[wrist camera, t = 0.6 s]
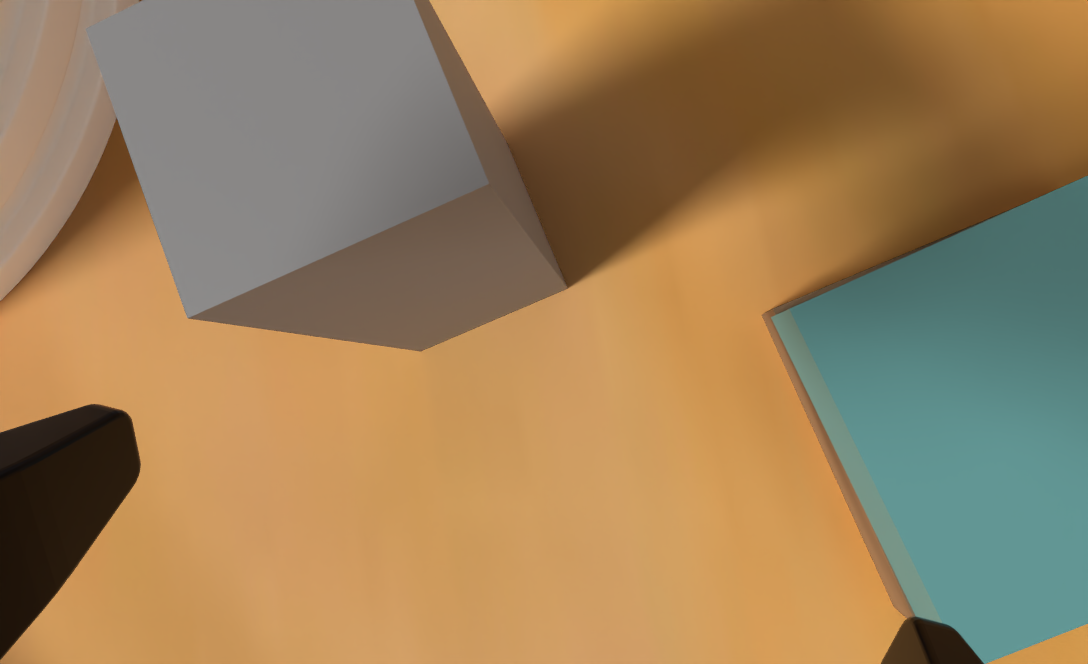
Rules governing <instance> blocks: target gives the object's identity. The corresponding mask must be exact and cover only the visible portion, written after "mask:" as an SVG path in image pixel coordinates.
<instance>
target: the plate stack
mask: <svg viewBox="0 0 1088 664" xmlns="http://www.w3.org/2000/svg"><path fill="white" fill-rule="evenodd" d="M138 2H139V0H0V301H1V300H2V299H3V298H4V297H5V296H6V295H7V294H8V293H9V292H10V291H11V290H12V289H13V288H14V287H15V286H16V285H17V284H18V283H19V282H20V281H21V279H22V278H23V277H24V276H25V275H26V274H27V273H28V272H29V270H30V269H31V268H32V267H33V266H34V265H35V263H36V262H37V261H38V260H39V258H40V257H41V256H42V255H43V254H44V252H45V251H46V250H47V248H48V247H49V245H50V244H51V243H52V241H53V240H54V239H55V237H56V236H57V235H58V233H59V232H60V230H61V229H62V227H63V226H64V224H65V223H66V221H67V220H68V218H69V216H70V215H71V213H72V212H73V210H74V208H75V207H76V205H77V203H78V202H79V200H80V198H81V196H82V194H83V193H84V191H85V189H86V187H87V185H88V183H89V181H90V179H91V177H92V175H93V173H94V171H95V169H96V167H97V165H98V163H99V161H100V158H101V156H102V154H103V152H104V149H105V147H106V145H107V142H108V139H109V137H110V134H111V132H112V129H113V126H114V123H115V120H116V118H117V117H116V114H115V111H114V108H113V106H112V103H111V100H110V97H109V94H108V91H107V89H106V86H105V83H104V80H103V77H102V74H101V72H100V69H99V66H98V63H97V60H96V57H95V55H94V52H93V49H92V46H91V43H90V40H89V38H88V35H87V32H86V28H88V27H90V26H92V25H94V24H96V23H98V22H100V21H102V20H104V19H106V18H108V17H110V16H112V15H114V14H116V13H118V12H120V11H122V10H124V9H126V8H128V7H130V6H132V5H134V4H136V3H138Z"/></svg>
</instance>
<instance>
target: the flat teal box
mask: <svg viewBox="0 0 1088 664" xmlns="http://www.w3.org/2000/svg"><path fill="white" fill-rule="evenodd" d="M1022 205H1023V204H1022ZM1020 206H1021V205H1020ZM1015 208H1016V207H1015ZM1013 209H1014V208H1013ZM1010 210H1012V209H1010ZM1010 210H1008V211H1010ZM1006 212H1007V211H1006ZM1003 213H1005V212H1003ZM1003 213H1001V214H1003ZM1001 214H998V215H1001ZM998 215H996V216H998ZM996 216H994V217H996ZM994 217H991V218H989V219H992V218H994ZM989 219H986V220H984V221H982V222H979V223H977V224H975V225H972V226H970V227H967V228H965V229H963V230H960V231H958V232H955V233H953V234H951V235H948V236H946V237H943V238H941V239H939V240H936V241H934V242H931V243H929V244H927V245H924V246H922V247H920V248H917V249H915V250H912V251H910V252H908V253H905V254H903V255H900V256H898V257H896V258H893V259H891V260H888V261H886V262H884V263H881V264H879V265H876V266H874V267H872V268H869V269H867V270H865V271H862V272H860V273H857V274H855V275H853V276H850V277H848V278H845V279H843V280H841V281H838V282H836V283H833V284H831V285H829V286H826V287H824V288H821V289H819V290H817V291H814V292H812V293H810V294H807V295H805V296H802V297H800V298H798V299H795V300H793V301H790V302H788V303H786V304H783V305H781V306H778V307H776V308H774V309H772V310H770V311H768V312H766V313H764V314H762V317H763V319H764V321H765V324H766V326H767V328H768V330H769V332H770V335H771V337H772V339H773V341H774V344H775V346H776V348H777V350H778V352H779V355H780V357H781V359H782V361H783V363H784V366H785V368H786V370H787V372H788V374H789V377H790V379H791V381H792V383H793V385H794V388H795V390H796V392H797V394H798V396H799V399H800V401H801V403H802V405H803V408H804V410H805V412H806V414H807V416H808V419H809V421H810V423H811V425H812V427H813V430H814V432H815V434H816V436H817V438H818V441H819V443H820V445H821V447H822V449H823V452H824V454H825V456H826V458H827V460H828V463H829V465H830V467H831V469H832V472H833V474H834V476H835V478H836V480H837V483H838V485H839V487H840V489H841V491H842V494H843V496H844V498H845V500H846V502H847V505H848V507H849V509H850V511H851V513H852V516H853V518H854V520H855V522H856V524H857V527H858V529H859V531H860V533H861V536H862V538H863V540H864V542H865V544H866V547H867V549H868V551H869V553H870V555H871V558H872V560H873V562H874V564H875V566H876V569H877V571H878V573H879V575H880V577H881V580H882V582H883V584H884V586H885V589H886V591H887V593H888V595H889V597H890V600H891V602H892V604H893V606H894V607H895V608H896V609H897V610H898V611H899V612H900V613H901V614H903V615H904V616H905V617H906V618H909V617H913V616H915V614H914V612H913V610H912V607H911V605H910V603H909V601H908V599H907V597H906V595H905V593H904V591H903V589H902V587H901V585H900V583H899V581H898V579H897V577H896V575H895V572H894V570H893V568H892V566H891V564H890V562H889V560H888V558H887V556H886V554H885V552H884V550H883V548H882V546H881V544H880V541H879V539H878V537H877V535H876V533H875V531H874V529H873V527H872V525H871V523H870V521H869V519H868V517H867V515H866V513H865V511H864V508H863V506H862V504H861V502H860V500H859V498H858V496H857V494H856V492H855V490H854V488H853V486H852V484H851V482H850V480H849V478H848V475H847V473H846V471H845V469H844V467H843V465H842V463H841V461H840V459H839V457H838V455H837V453H836V451H835V449H834V447H833V444H832V442H831V440H830V438H829V436H828V434H827V432H826V430H825V428H824V426H823V424H822V422H821V420H820V418H819V416H818V414H817V411H816V409H815V407H814V405H813V403H812V401H811V399H810V397H809V395H808V393H807V391H806V389H805V387H804V385H803V383H802V381H801V378H800V376H799V374H798V372H797V370H796V368H795V366H794V364H793V362H792V360H791V358H790V356H789V354H788V352H787V350H786V348H785V345H784V343H783V341H782V339H781V337H780V335H779V333H778V331H777V329H776V327H775V325H774V323H773V321H772V319H771V317H773V316H775V315H777V314H779V313H781V312H783V311H786V310H788V309H790V308H792V307H795V306H797V305H799V304H801V303H804V302H806V301H808V300H810V299H812V298H815V297H817V296H819V295H821V294H824V293H826V292H828V291H830V290H833V289H835V288H837V287H839V286H842V285H844V284H846V283H848V282H851V281H853V280H855V279H857V278H860V277H862V276H864V275H866V274H868V273H871V272H873V271H875V270H877V269H880V268H882V267H884V266H886V265H889V264H891V263H893V262H895V261H898V260H900V259H902V258H904V257H907V256H909V255H911V254H913V253H915V252H918V251H920V250H922V249H924V248H927V247H929V246H931V245H933V244H936V243H938V242H940V241H942V240H945V239H947V238H949V237H951V236H954V235H956V234H958V233H960V232H962V231H965V230H967V229H969V228H971V227H974V226H976V225H978V224H980V223H983V222H985V221H987V220H989Z"/></svg>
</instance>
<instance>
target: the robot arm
mask: <svg viewBox="0 0 1088 664" xmlns="http://www.w3.org/2000/svg"><path fill="white" fill-rule="evenodd" d="M140 466H141V463H140V457H139V452H138V447H137V442H136V437H135V432H134V427H133V422H132V419H131V417H130V416H129V415H128V414H127V413H126V412H124V411H123V410H119V409H115V408H111V407H107V406H103V405H98V404H91V405H87V406H83V407H80V408H77V409H74V410H71V411H67V412H64V413H61V414H58V415H55V416H52V417H48V418H45V419H42V420H39V421H36V422H32V423H29V424H26V425H23V426H20V427H17V428H13V429H10V430H7V431H4V432H1V433H0V660H1V659H2V658H3V656H4V655H5V654H6V653H7V652H8V651H9V649H10V648H11V647H12V646H13V645H14V644H15V642H16V641H17V640H18V639H19V638H20V637H21V635H22V634H23V633H24V632H25V631H26V629H27V628H28V627H29V626H30V625H31V624H32V622H33V621H34V620H35V619H36V618H37V617H38V615H39V614H40V613H41V612H42V611H43V610H44V608H45V607H46V606H47V605H48V603H49V602H50V601H51V600H52V599H53V597H54V596H55V595H56V594H57V592H58V591H59V590H60V588H61V587H62V586H63V584H64V583H65V582H66V580H67V579H68V578H69V576H70V575H71V574H72V572H73V571H74V570H75V568H76V567H77V565H78V564H79V562H80V561H81V560H82V558H83V557H84V555H85V554H86V553H87V551H88V550H89V548H90V547H91V545H92V544H93V543H94V541H95V540H96V538H97V537H98V536H99V534H100V533H101V531H102V530H103V528H104V527H105V526H106V524H107V523H108V521H109V520H110V519H111V517H112V516H113V514H114V513H115V511H116V510H117V509H118V507H119V506H120V504H121V503H122V502H123V500H124V499H125V497H126V496H127V495H128V493H129V492H130V490H131V489H132V487H133V486H134V484H135V483H136V481H137V478H138V476H139V473H140ZM881 664H984V663H983V661H982V660H981V659H980V658H979V657H978V655H977V654H976V653H975V652H974V651H973V649H972V648H971V647H970V646H969V644H968V643H967V642H966V641H965V640H964V638H963V637H962V636H961V635H960V634H959V633H958V632H957V631H956V630H955V629H954V628H953V627H951V626H949V625H947V624H944V623H940V622H936V621H932V620H929V619H925V618H921V617H917V616H913V617H909V618H907V619H906V620H905V621H904V623H903V624H902V625H901V627H900V629H899V631H898V633H897V635H896V636H895V638H894V640H893V642H892V644H891V646H890V647H889V649H888V651H887V653H886V655H885V657H884V658H883V660H882V662H881Z"/></svg>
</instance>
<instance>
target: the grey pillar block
mask: <svg viewBox="0 0 1088 664" xmlns="http://www.w3.org/2000/svg"><path fill="white" fill-rule="evenodd" d="M86 32H87V35H88V38H89V40H90V43H91V46H92V49H93V52H94V55H95V57H96V60H97V63H98V66H99V69H100V72H101V74H102V77H103V80H104V83H105V86H106V89H107V91H108V94H109V97H110V100H111V103H112V106H113V108H114V111H115V114H116V117H117V120H118V123H119V125H120V128H121V131H122V134H123V137H124V140H125V142H126V145H127V148H128V151H129V154H130V157H131V159H132V162H133V165H134V168H135V171H136V174H137V176H138V179H139V182H140V185H141V188H142V191H143V193H144V196H145V199H146V202H147V205H148V208H149V210H150V213H151V216H152V219H153V222H154V225H155V227H156V230H157V233H158V236H159V239H160V242H161V245H162V247H163V250H164V253H165V256H166V259H167V262H168V264H169V267H170V270H171V273H172V276H173V279H174V281H175V284H176V287H177V290H178V293H179V296H180V298H181V301H182V304H183V307H184V310H185V313H186V315H187V318H189V319H196V320H203V321H210V322H217V323H225V324H232V325H239V326H246V327H253V328H260V329H267V330H274V331H281V332H288V333H295V334H302V335H309V336H316V337H323V338H330V339H337V340H344V341H351V342H358V343H366V344H373V345H380V346H387V347H394V348H401V349H408V350H415V351H423V350H425V349H427V348H430V347H432V346H434V345H437V344H439V343H441V342H444V341H446V340H448V339H451V338H453V337H455V336H458V335H460V334H462V333H465V332H467V331H469V330H472V329H474V328H476V327H479V326H481V325H483V324H486V323H488V322H490V321H493V320H495V319H497V318H500V317H502V316H504V315H507V314H509V313H512V312H514V311H516V310H519V309H521V308H523V307H526V306H528V305H530V304H533V303H535V302H537V301H540V300H542V299H544V298H547V297H549V296H551V295H554V294H556V293H558V292H561V291H563V290H565V289H568V288H567V285H566V283H565V280H564V278H563V276H562V273H561V271H560V269H559V266H558V264H557V261H556V259H555V257H554V254H553V252H552V249H551V247H550V245H549V242H548V240H547V237H546V235H545V233H544V230H543V228H542V225H541V223H540V221H539V218H538V216H537V213H536V211H535V209H534V206H533V204H532V201H531V199H530V197H529V194H528V192H527V189H526V187H525V185H524V182H523V180H522V178H521V175H520V173H519V170H518V168H517V166H516V163H515V161H514V158H513V156H512V154H511V151H510V149H509V146H508V144H507V142H506V140H505V138H504V136H503V135H502V133H501V131H500V129H499V127H498V126H497V124H496V122H495V120H494V118H493V116H492V115H491V113H490V111H489V109H488V107H487V105H486V104H485V102H484V100H483V98H482V96H481V94H480V93H479V91H478V89H477V87H476V85H475V83H474V82H473V80H472V78H471V76H470V74H469V73H468V71H467V69H466V67H465V65H464V63H463V62H462V60H461V58H460V56H459V54H458V52H457V51H456V49H455V47H454V45H453V43H452V41H451V40H450V38H449V36H448V34H447V32H446V31H445V29H444V27H443V25H442V23H441V21H440V20H439V18H438V16H437V14H436V12H435V10H434V9H433V7H432V5H431V3H430V1H429V0H143V1H141V2H138V3H136V4H134V5H132V6H130V7H128V8H126V9H124V10H122V11H120V12H118V13H116V14H114V15H112V16H110V17H108V18H106V19H104V20H102V21H100V22H98V23H96V24H94V25H92V26H90V27H88V28H86Z"/></svg>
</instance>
